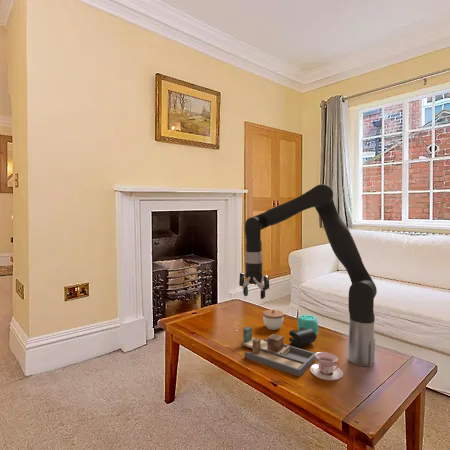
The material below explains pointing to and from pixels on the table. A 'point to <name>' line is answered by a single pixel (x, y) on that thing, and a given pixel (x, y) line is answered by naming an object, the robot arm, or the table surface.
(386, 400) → the table surface
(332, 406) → the table surface
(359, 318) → the robot arm
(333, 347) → the table surface
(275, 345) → the walnut cube
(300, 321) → the decorative dice
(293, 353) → the tray
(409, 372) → the table surface
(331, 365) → the teacup
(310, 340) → the end cap
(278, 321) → the lidded jar
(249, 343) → the strip
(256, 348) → the strip
